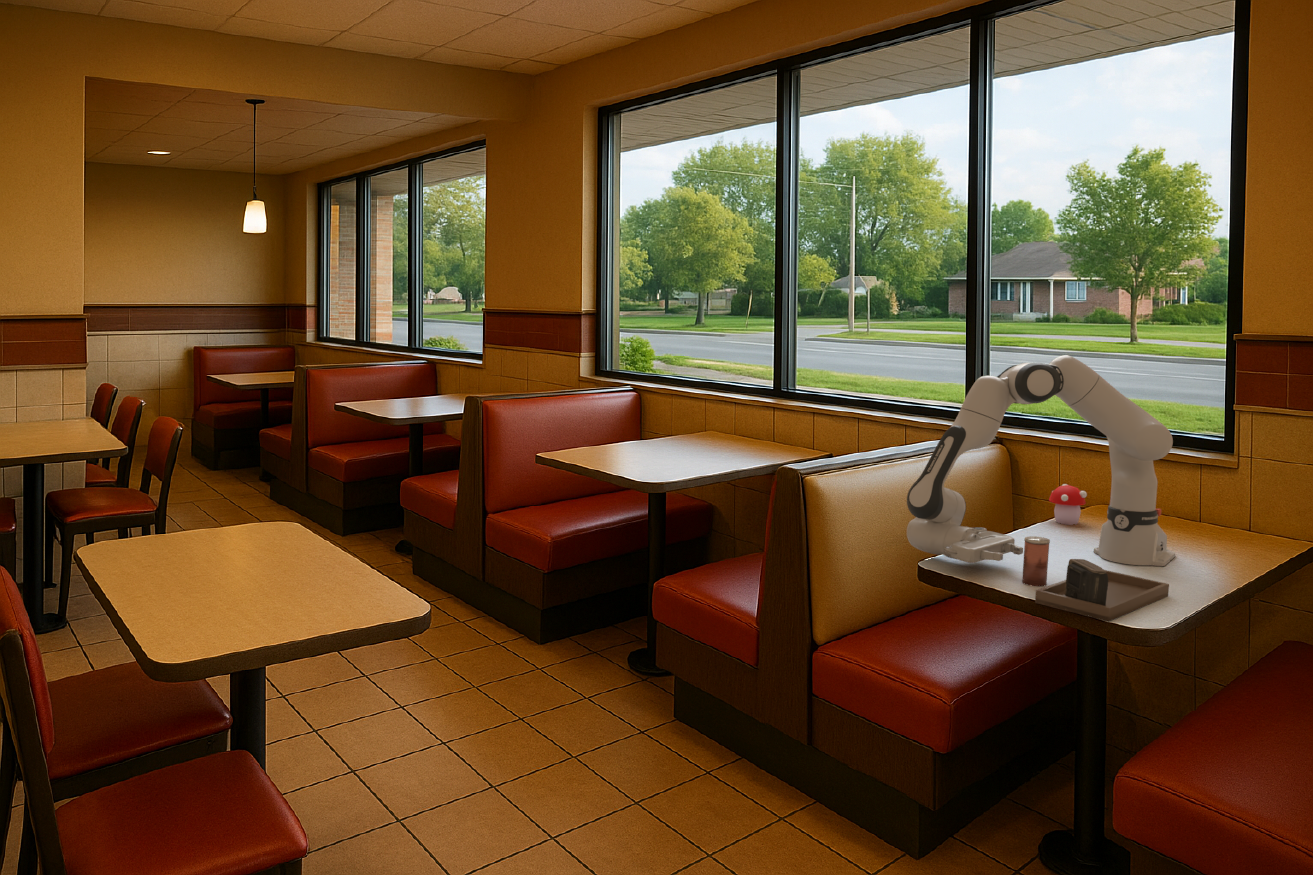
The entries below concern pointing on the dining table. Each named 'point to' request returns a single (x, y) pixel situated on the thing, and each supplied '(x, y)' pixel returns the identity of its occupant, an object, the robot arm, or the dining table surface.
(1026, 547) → the tin
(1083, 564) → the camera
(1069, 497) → the mushroom
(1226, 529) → the dining table surface
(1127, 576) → the tray
